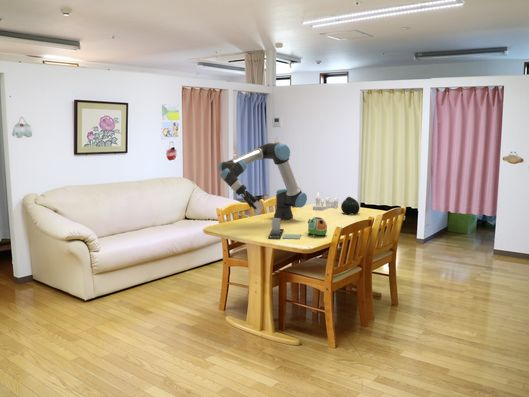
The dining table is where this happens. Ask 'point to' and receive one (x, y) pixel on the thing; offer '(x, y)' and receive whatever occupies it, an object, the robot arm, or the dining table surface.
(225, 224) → the dining table surface
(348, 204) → the squash
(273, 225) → the gray rectangular brick
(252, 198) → the robot arm
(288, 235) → the mat
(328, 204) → the toy castle
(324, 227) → the turtle holder
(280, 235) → the dark brown flat frame
